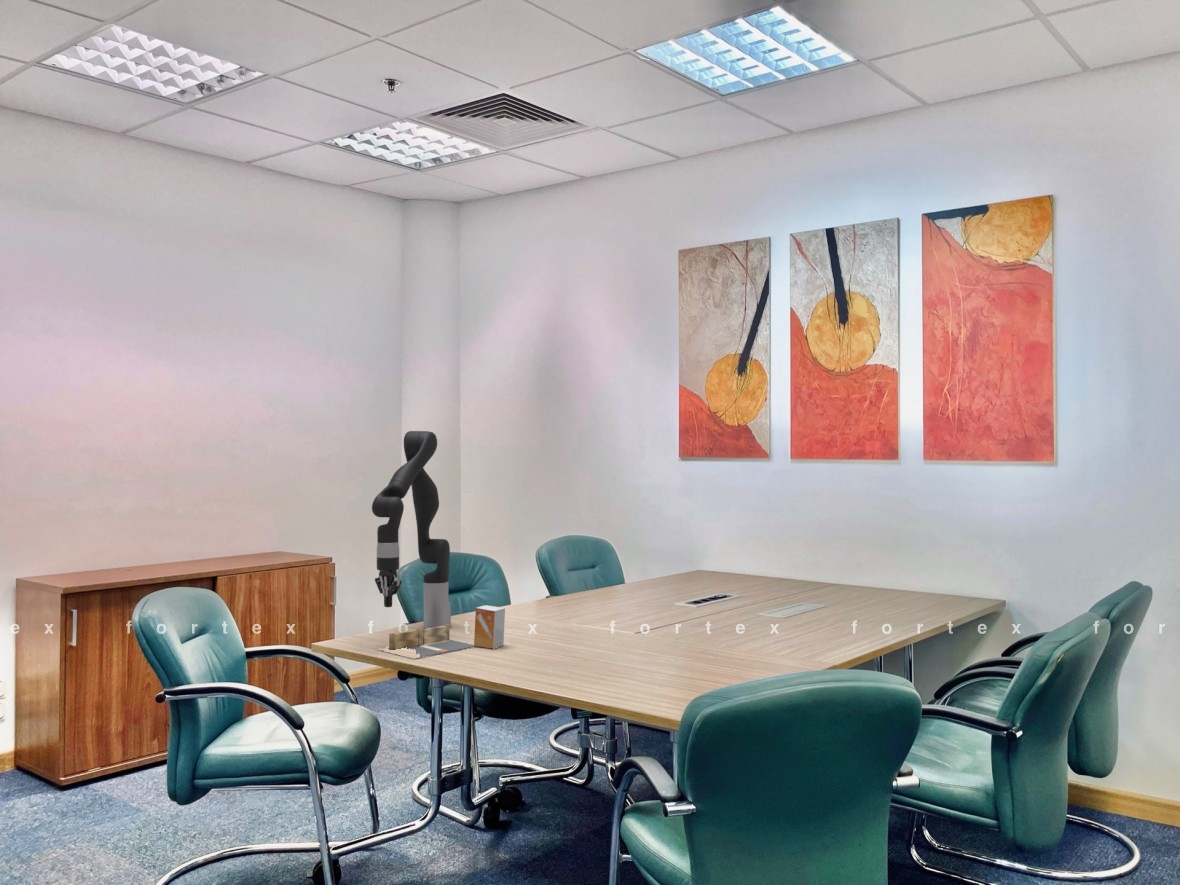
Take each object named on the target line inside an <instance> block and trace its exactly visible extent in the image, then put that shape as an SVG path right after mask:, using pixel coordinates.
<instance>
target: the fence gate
mask: <svg viewBox="0 0 1180 885" xmlns="http://www.w3.org/2000/svg"><path fill="white" fill-rule="evenodd" d="M388 636H389V638H388V640H389V641H388V642H389V643H388V644H389V646H388V647H389V650H396V649H401V648H406V647H412V646H417V645H418V630H417V629H414V630H408V631H402V632H396V633H389V635H388Z"/></svg>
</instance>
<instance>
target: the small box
mask: <svg viewBox="0 0 1180 885" xmlns="http://www.w3.org/2000/svg"><path fill="white" fill-rule="evenodd" d="M505 618H506V607H499V606H496V605H494V606H493V605H487V604H486V605H481V606H477V607H475V619H474V620H475V621H474V638H473V639H474V640H473V645H476V646H477V647H482V648H487V649H490V648H495V649H497V648H496V647H498V648H500V647H499V646H501V647H503V646H504V641H505V640H504V639H505V622H506V621H505ZM502 645H503V646H502Z"/></svg>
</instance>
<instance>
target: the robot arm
mask: <svg viewBox="0 0 1180 885" xmlns="http://www.w3.org/2000/svg"><path fill="white" fill-rule="evenodd" d="M437 438H438V437H437V435H436V434H435V433H434V432H433V431H430V430H429V431H427V430H409V431H407V432H406V433H405V434H404V436H403V450H404V455H405V458H406V460H405V461H406V463H404V464H403V465H401V466H400V467H399V468H398V469H397V470H396V471H395V472H394V473H393V475H392V477H391V478H390V480H389V483H388V484H387V486H385V487H384V488H383V489H382V490H381V491H380V492H379V493H378V494H377V495H376V496H375V498H374V500H373V502H372V504H371V512H372V513H373V515H374V516H375V517H376V518H388V521H387V523H385V524H381V525H379V526H378V527H377V530H376V531H377V532H376V533H377V536H376V537H377V541H376V542H377V545H376V569H377V571H379V573H378V577H375V578H374V582H375V585H376V588H377V589H378V591H379V594H382V596H383V606H384V607H385V608H391V607H393V596H394V595H397V593H398V591H399V589H400V588H401V585H402V583H403V581H402V580H399V578H398V573H397V571H398V570H399V569H400V544H399V543H400V542H399V529H400V525H401V520H402V516H403V514H404V509H405V505H404V503H403V500H402V499H404V498H405V497H406V496H407V494H408V491H409V490H410V489H411V493H412V502H413V507H414V514H415V520H416V529H417V532H416V534H417V550H418V558H419V559H420V562H421V563H422V564H429V565H430V564H433V565H435V564H436V568H435V569H434V570H432V571H430V572H427V573H425V574H424V575H423V576H422V577H423V578H422V580H423V582H422V583H423V629H424V628H425V629H428V628H434V627H439V626H444V624H449V628H451V627H452V620H451V619H452V612H451V611H452V607H451V606H452V602H451V601H449V577H450V576H449V574H450V557H451V556H450V554H451V547H450V542H449V540H447V539H445V538H431V537H430V528H431V524H432V523H433V520H434V518H435V516H436V515H437V513H438V510H439V507H440V499H439V490H438V487H437V486H436V484H435V482H434V481H433V479H432V478H431V477H430V475H429V474H428V472H427V471H426V470H425V468H424V467H425V466H426V465H427V464H428V463H429V461H430V460H431V458H432V457H433V456H434V455H435V453H436V451H437V448H438V439H437Z"/></svg>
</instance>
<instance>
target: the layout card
mask: <svg viewBox="0 0 1180 885" xmlns="http://www.w3.org/2000/svg"><path fill="white" fill-rule="evenodd" d="M471 647H474V648H477V647H476V645H474V644H471V643H467V642H462V641H458V640H453V639H449V641H443V642H437V643H432V644H427V645H423V646H412V647H407V649H409V648H410V649H415V650H416V654H418V653H419V654H420V657H423V656H429V655H434V656H436V655H435V654H439V655H443V654H442V653H444V654H448V653H447V652H449V653H453V651H454V652H458V651H459V652H460V651H463V649H464V650H468V649H467V648H469V649H472V648H471ZM388 649H389V648H388ZM429 657H430V656H429Z"/></svg>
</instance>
